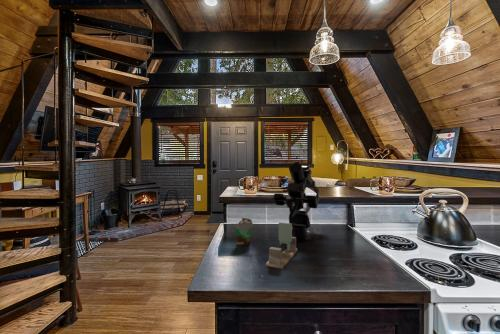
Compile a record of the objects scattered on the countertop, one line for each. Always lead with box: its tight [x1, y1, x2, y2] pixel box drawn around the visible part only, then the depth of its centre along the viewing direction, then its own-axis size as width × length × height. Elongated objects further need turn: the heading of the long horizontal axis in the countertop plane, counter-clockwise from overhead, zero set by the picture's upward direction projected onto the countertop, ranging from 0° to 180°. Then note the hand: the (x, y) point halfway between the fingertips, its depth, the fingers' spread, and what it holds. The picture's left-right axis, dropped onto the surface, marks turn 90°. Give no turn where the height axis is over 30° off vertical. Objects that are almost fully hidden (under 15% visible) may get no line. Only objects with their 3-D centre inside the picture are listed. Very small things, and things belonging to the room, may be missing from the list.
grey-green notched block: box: [278, 221, 292, 251], centre depth 106 cm, size 3×5×10 cm, turn 65°
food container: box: [235, 217, 254, 247], centre depth 121 cm, size 12×6×10 cm, turn 168°
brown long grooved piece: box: [265, 237, 298, 270], centre depth 104 cm, size 20×6×6 cm, turn 155°
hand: (291, 216), depth 113 cm, fingers closed
